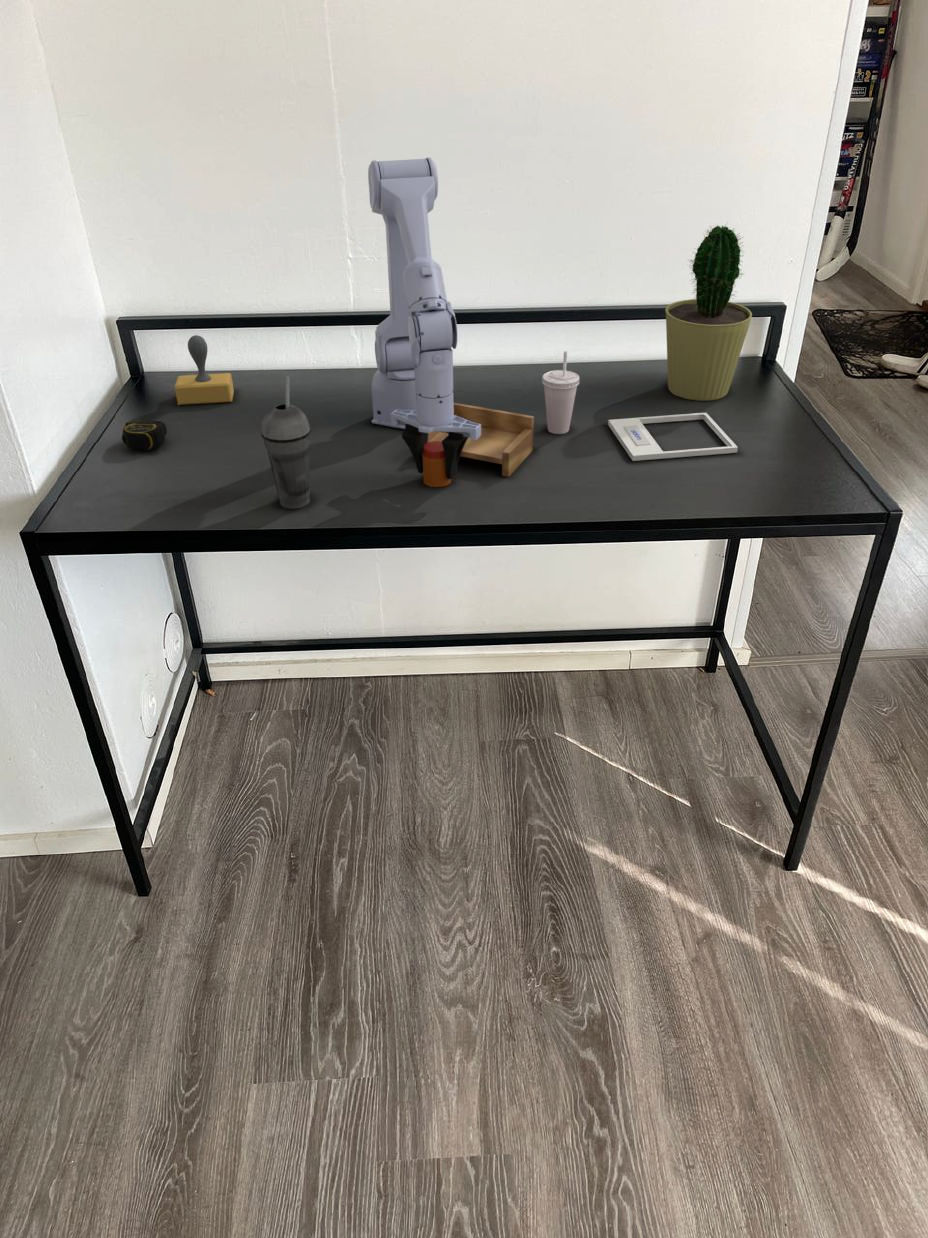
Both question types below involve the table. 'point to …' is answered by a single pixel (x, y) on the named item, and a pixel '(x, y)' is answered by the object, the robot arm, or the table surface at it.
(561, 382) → the smoothie
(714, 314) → the potted cactus
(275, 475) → the beverage cup
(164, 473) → the table surface
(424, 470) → the spice bottle
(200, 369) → the rubber stamp
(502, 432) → the shelf
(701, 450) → the photo frame
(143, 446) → the tape measure
